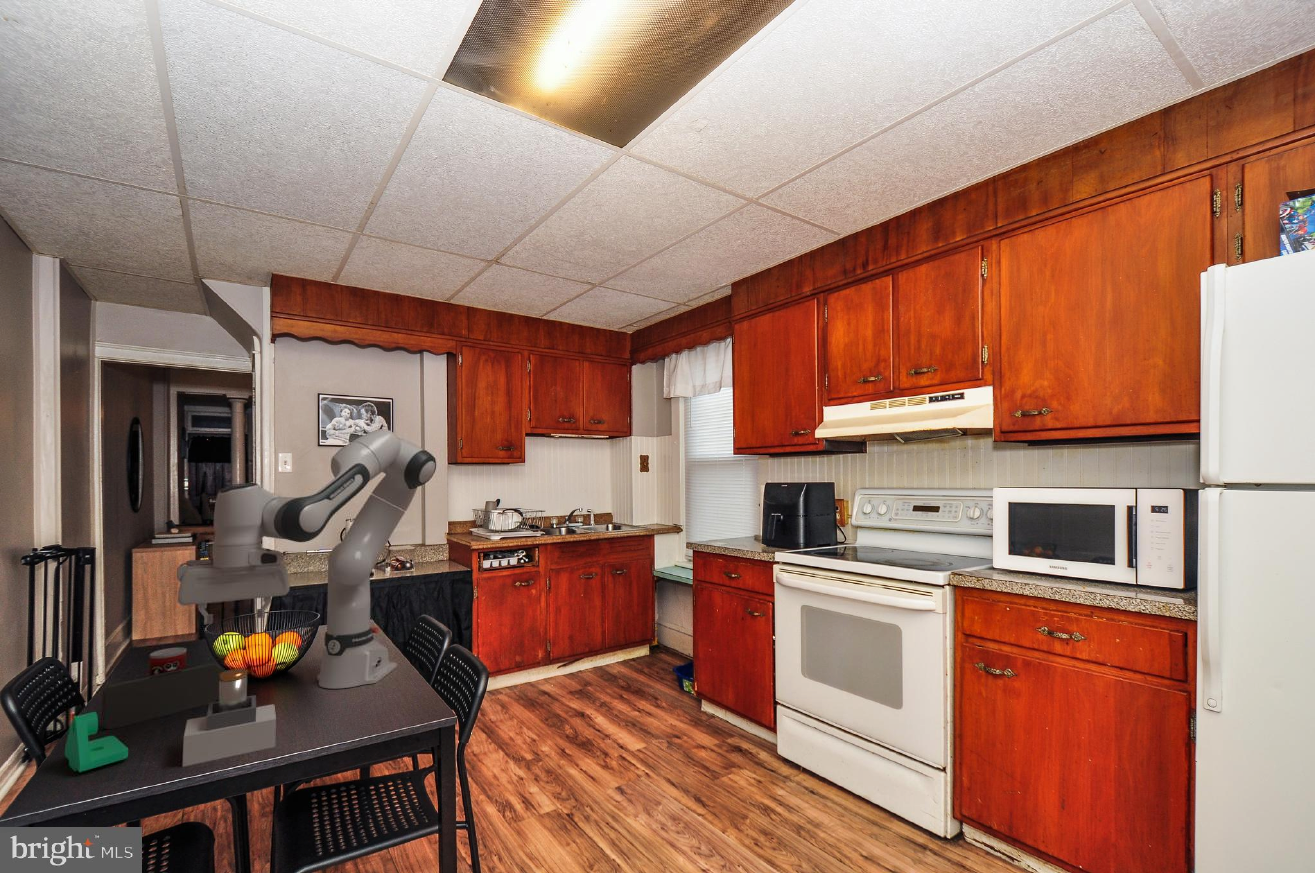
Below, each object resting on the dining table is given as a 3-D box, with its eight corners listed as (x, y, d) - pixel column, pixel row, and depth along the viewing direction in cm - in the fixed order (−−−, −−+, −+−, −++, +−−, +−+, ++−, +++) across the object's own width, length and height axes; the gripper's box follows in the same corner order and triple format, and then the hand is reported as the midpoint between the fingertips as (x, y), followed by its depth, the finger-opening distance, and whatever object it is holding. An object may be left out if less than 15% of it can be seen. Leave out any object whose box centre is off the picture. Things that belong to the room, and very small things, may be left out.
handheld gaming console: (215, 699, 161) (217, 660, 162) (219, 702, 160) (221, 662, 160) (99, 728, 143) (102, 685, 144) (102, 732, 142) (104, 687, 142)
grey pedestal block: (182, 766, 125) (184, 721, 125) (186, 748, 133) (188, 705, 134) (275, 746, 134) (276, 704, 134) (273, 730, 142) (274, 690, 143)
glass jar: (225, 715, 136) (227, 669, 137) (250, 713, 137) (251, 668, 137) (213, 724, 131) (214, 676, 132) (238, 722, 132) (240, 675, 132)
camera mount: (129, 762, 127) (131, 711, 128) (79, 777, 121) (81, 724, 121) (112, 747, 134) (114, 699, 135) (64, 760, 128) (66, 710, 128)
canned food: (140, 698, 162) (142, 656, 162) (163, 687, 170) (165, 647, 170) (170, 698, 162) (171, 655, 162) (192, 687, 170) (193, 647, 170)
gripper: (176, 563, 127) (173, 630, 127) (290, 555, 139) (289, 617, 138) (178, 559, 133) (176, 624, 132) (289, 551, 144) (287, 611, 143)
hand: (235, 620), depth 135 cm, fingers open, 8 cm apart
